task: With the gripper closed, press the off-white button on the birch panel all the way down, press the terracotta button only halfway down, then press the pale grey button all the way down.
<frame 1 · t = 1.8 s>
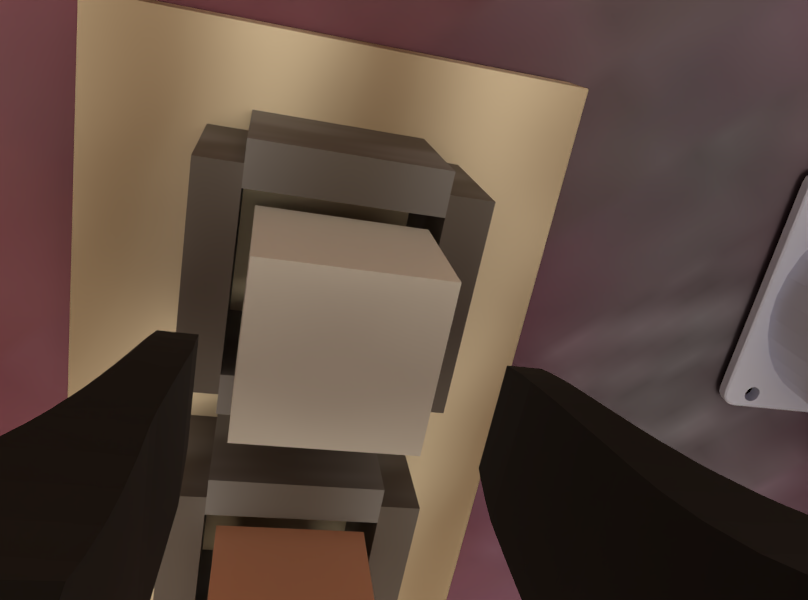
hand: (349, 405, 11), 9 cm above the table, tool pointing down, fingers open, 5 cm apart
offwhite button: (335, 327, 14), point 6 cm above the table, slide at 0.0 cm
button panel: (280, 466, 23), on the table
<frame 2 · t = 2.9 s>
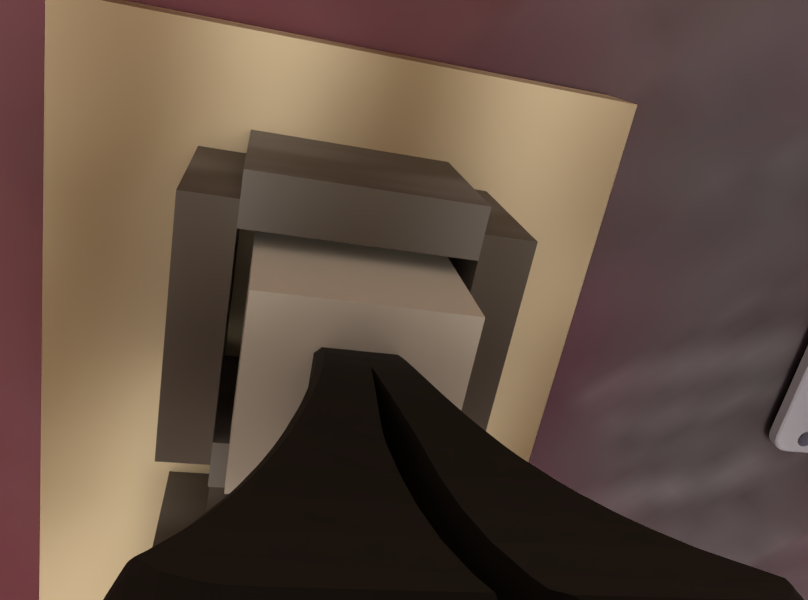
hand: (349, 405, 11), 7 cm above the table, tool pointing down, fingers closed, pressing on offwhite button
offwhite button: (343, 362, 13), point 5 cm above the table, slide at 1.2 cm, touching gripper
button panel: (283, 521, 21), on the table
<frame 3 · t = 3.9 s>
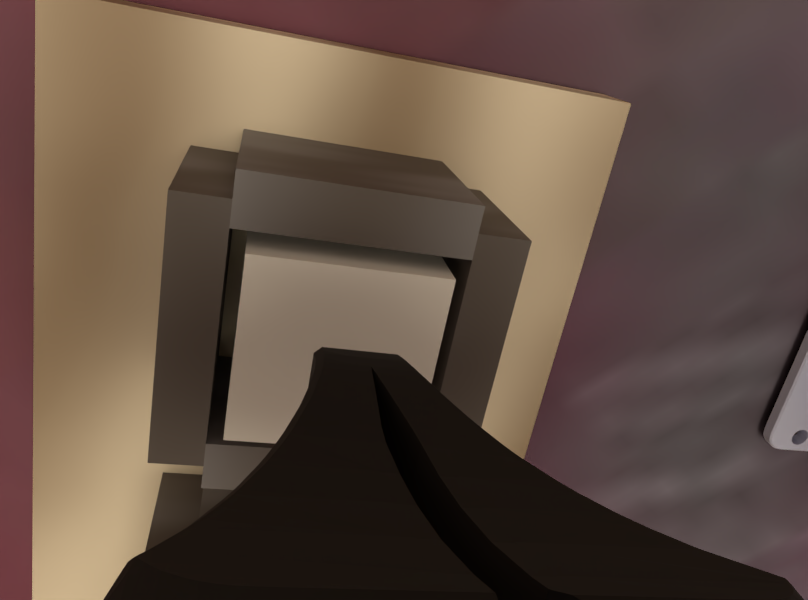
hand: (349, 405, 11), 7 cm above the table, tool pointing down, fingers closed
offwhite button: (331, 325, 14), point 4 cm above the table, slide at 2.7 cm
button panel: (277, 522, 20), on the table
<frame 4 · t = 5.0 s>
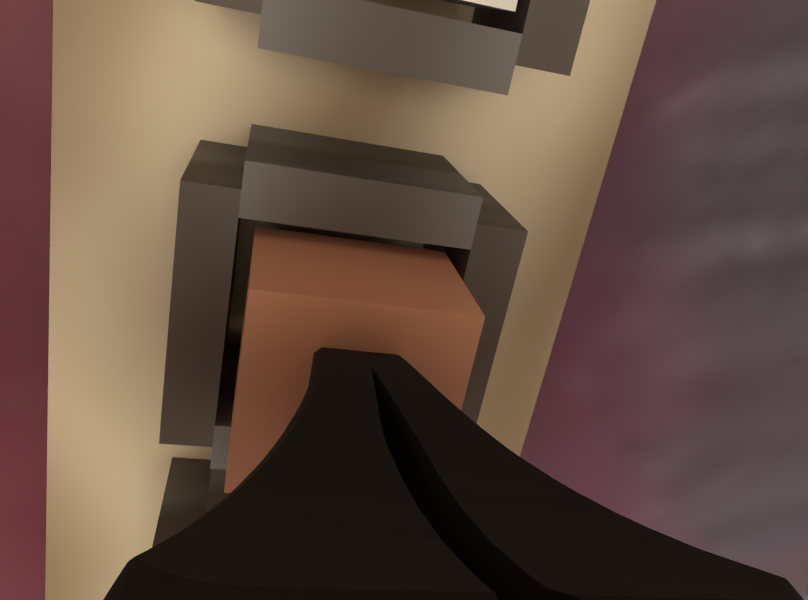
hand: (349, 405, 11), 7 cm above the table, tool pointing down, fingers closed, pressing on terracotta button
button panel: (324, 251, 18), on the table
terracotta button: (343, 362, 13), point 6 cm above the table, slide at 0.6 cm, touching gripper
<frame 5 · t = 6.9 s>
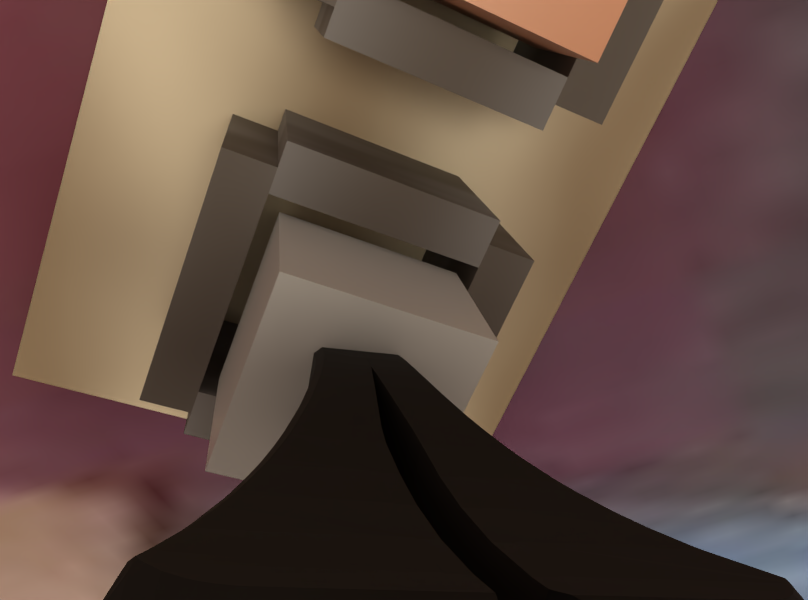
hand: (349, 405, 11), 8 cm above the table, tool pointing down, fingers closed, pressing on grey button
grey button: (343, 361, 13), point 6 cm above the table, slide at 0.2 cm, touching gripper
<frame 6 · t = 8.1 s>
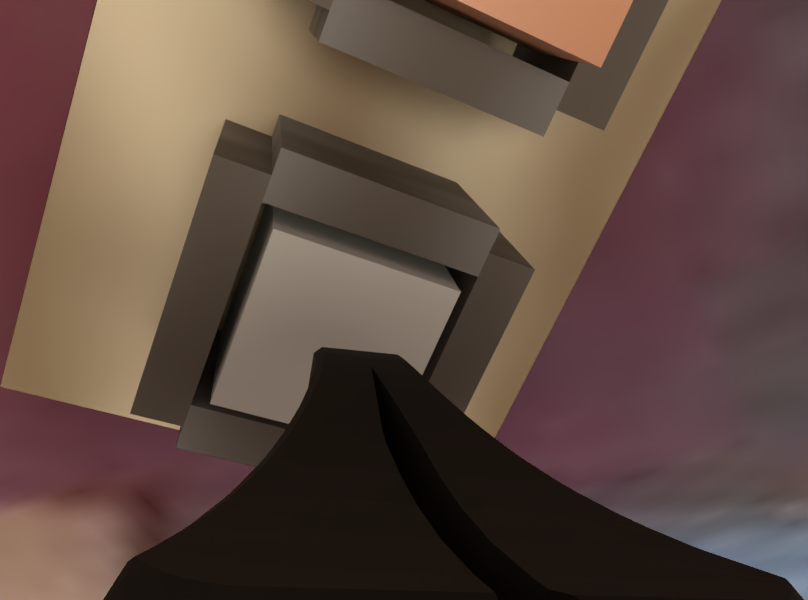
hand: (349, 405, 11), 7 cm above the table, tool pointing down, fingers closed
grey button: (329, 314, 15), point 4 cm above the table, slide at 2.7 cm
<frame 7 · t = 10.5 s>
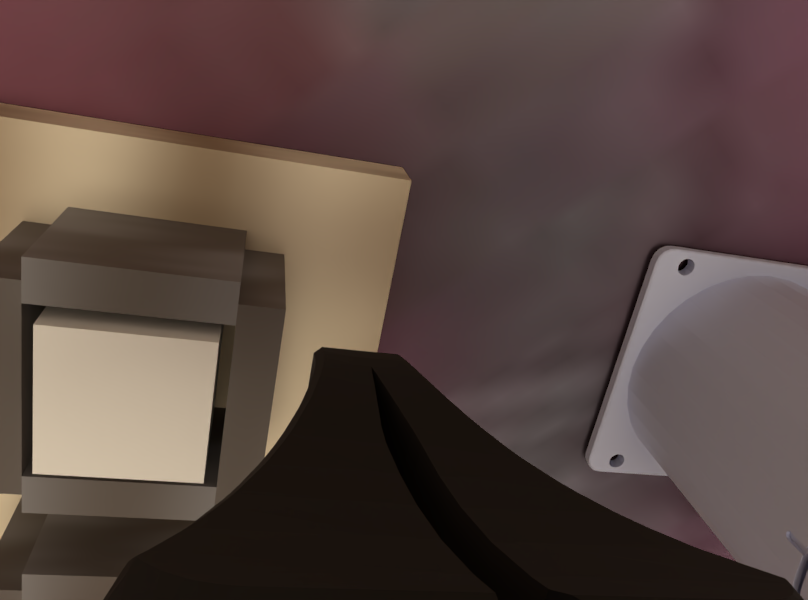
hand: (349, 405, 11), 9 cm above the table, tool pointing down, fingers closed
offwhite button: (136, 375, 17), point 4 cm above the table, slide at 2.7 cm
button panel: (143, 535, 23), on the table
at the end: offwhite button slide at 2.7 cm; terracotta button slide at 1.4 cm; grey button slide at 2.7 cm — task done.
